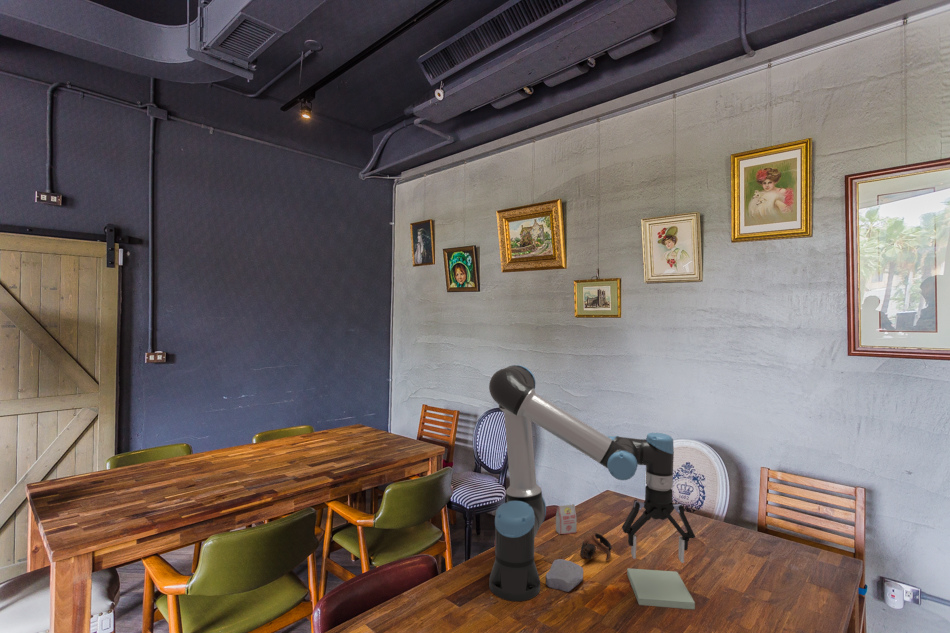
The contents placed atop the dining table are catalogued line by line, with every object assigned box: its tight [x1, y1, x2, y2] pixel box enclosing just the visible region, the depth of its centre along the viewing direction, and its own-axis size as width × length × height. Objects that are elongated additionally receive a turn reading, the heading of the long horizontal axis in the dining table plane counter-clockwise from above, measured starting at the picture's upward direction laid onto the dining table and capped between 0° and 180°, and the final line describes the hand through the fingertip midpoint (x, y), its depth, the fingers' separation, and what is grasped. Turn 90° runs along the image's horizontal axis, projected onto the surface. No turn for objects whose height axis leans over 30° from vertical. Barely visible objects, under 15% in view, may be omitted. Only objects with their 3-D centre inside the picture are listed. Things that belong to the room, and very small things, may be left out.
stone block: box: [545, 558, 584, 593], centre depth 142 cm, size 12×5×10 cm
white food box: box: [555, 503, 577, 535], centre depth 177 cm, size 4×7×10 cm, turn 106°
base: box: [626, 567, 696, 610], centre depth 138 cm, size 15×16×2 cm
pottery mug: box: [579, 532, 613, 562], centre depth 156 cm, size 12×9×8 cm
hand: (657, 558), depth 138 cm, fingers open, 13 cm apart
